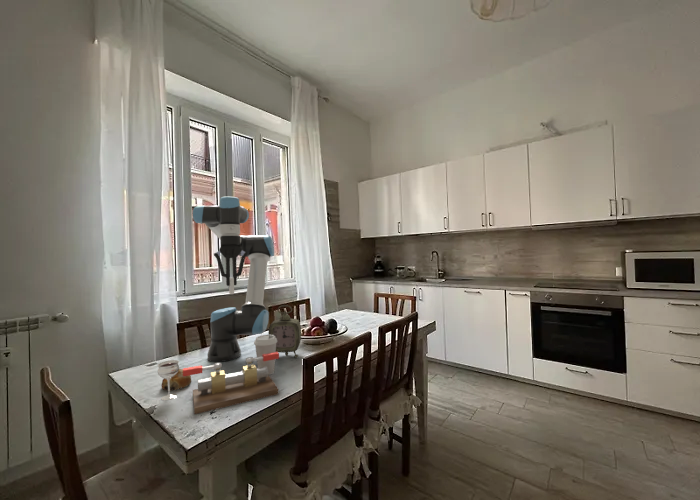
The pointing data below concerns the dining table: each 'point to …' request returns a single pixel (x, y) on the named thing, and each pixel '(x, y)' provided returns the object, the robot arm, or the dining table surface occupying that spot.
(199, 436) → the dining table surface
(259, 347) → the coffee cup
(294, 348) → the tabletop clock
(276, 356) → the valve lever
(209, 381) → the manifold pipe
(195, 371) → the valve lever
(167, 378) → the wineglass
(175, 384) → the bread roll
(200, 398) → the valve board
